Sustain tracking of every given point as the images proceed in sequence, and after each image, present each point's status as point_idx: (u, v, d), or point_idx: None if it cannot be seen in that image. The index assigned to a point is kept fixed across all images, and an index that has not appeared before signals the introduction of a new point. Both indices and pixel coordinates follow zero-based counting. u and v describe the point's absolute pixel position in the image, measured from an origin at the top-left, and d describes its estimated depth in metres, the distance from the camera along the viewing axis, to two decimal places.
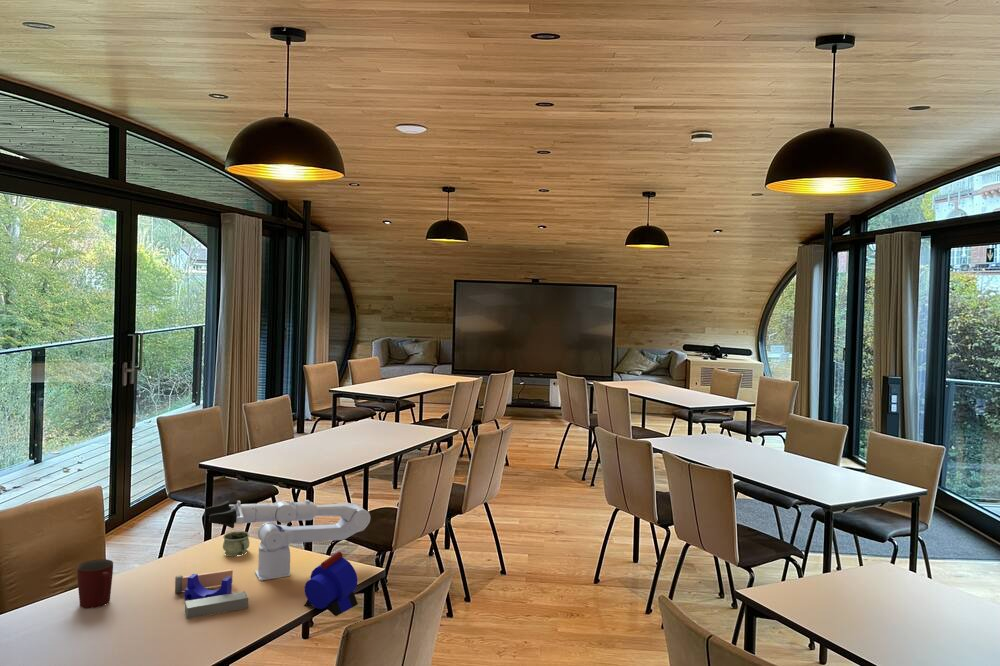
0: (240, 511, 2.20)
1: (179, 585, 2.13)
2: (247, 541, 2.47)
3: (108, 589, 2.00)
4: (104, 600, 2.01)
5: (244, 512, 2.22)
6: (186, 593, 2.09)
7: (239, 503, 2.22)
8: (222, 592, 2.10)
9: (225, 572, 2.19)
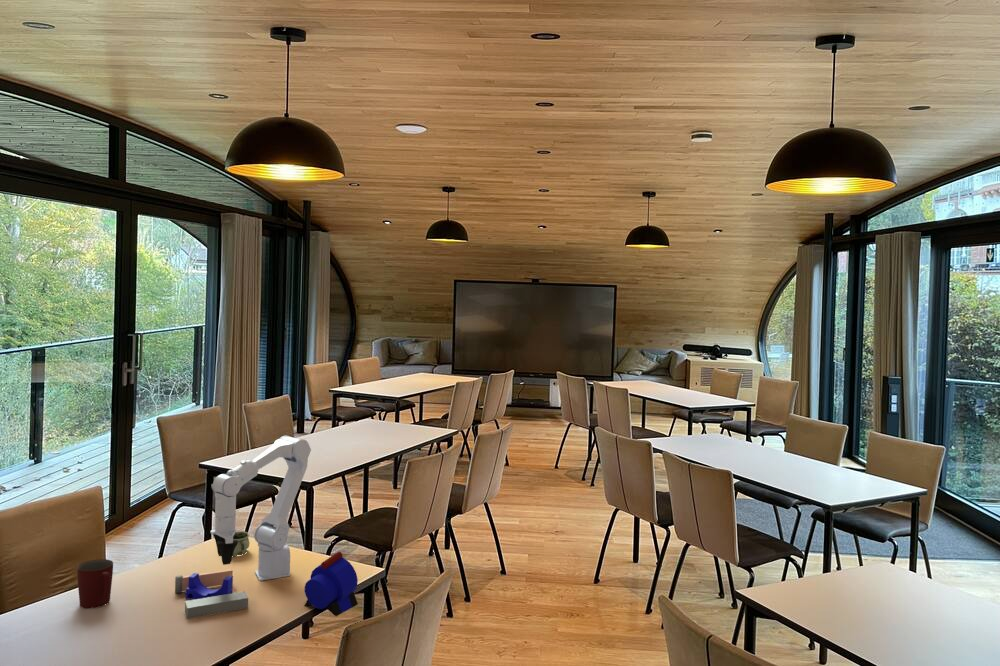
0: (220, 535, 2.11)
1: (179, 585, 2.13)
2: (247, 541, 2.47)
3: (108, 589, 2.00)
4: (104, 600, 2.01)
5: (222, 529, 2.12)
6: (187, 592, 2.10)
7: (213, 533, 2.13)
8: (223, 591, 2.10)
9: (225, 572, 2.19)
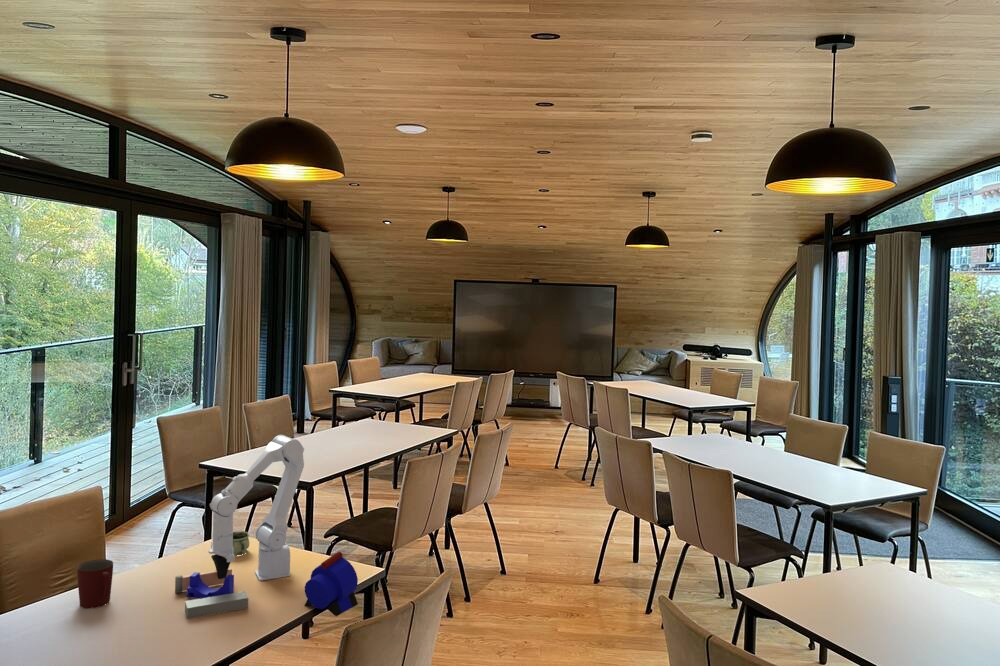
0: (220, 554, 2.14)
1: (179, 585, 2.13)
2: (247, 541, 2.47)
3: (108, 589, 2.00)
4: (104, 600, 2.01)
5: (221, 548, 2.15)
6: (188, 591, 2.10)
7: (211, 552, 2.15)
8: (225, 590, 2.11)
9: None
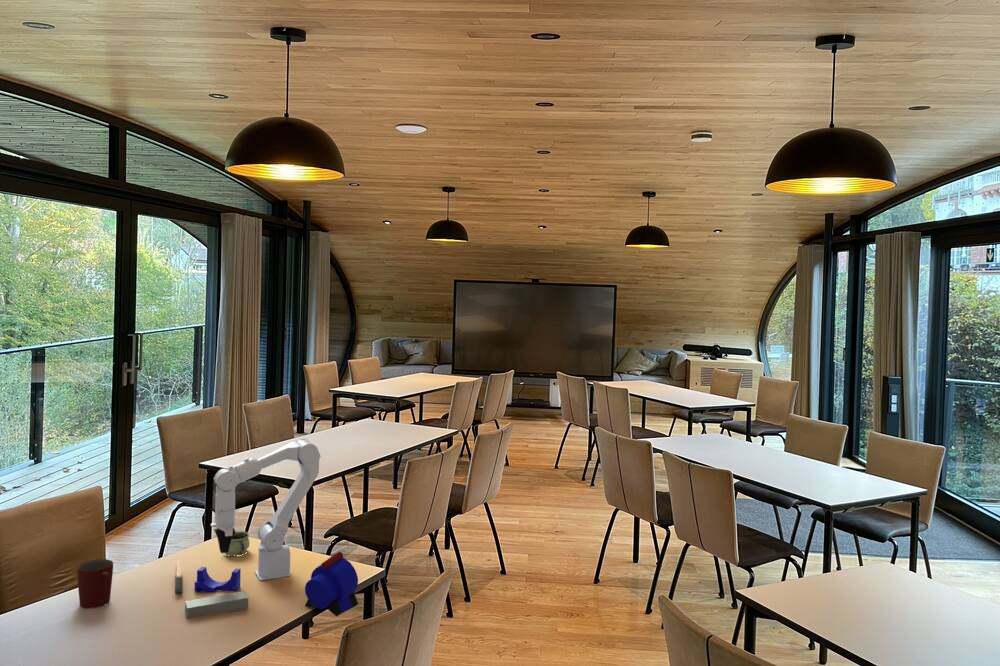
0: (220, 528, 2.17)
1: None
2: (247, 541, 2.47)
3: (108, 589, 2.00)
4: (104, 600, 2.01)
5: (222, 522, 2.19)
6: (196, 585, 2.15)
7: (213, 526, 2.19)
8: (232, 584, 2.16)
9: None
